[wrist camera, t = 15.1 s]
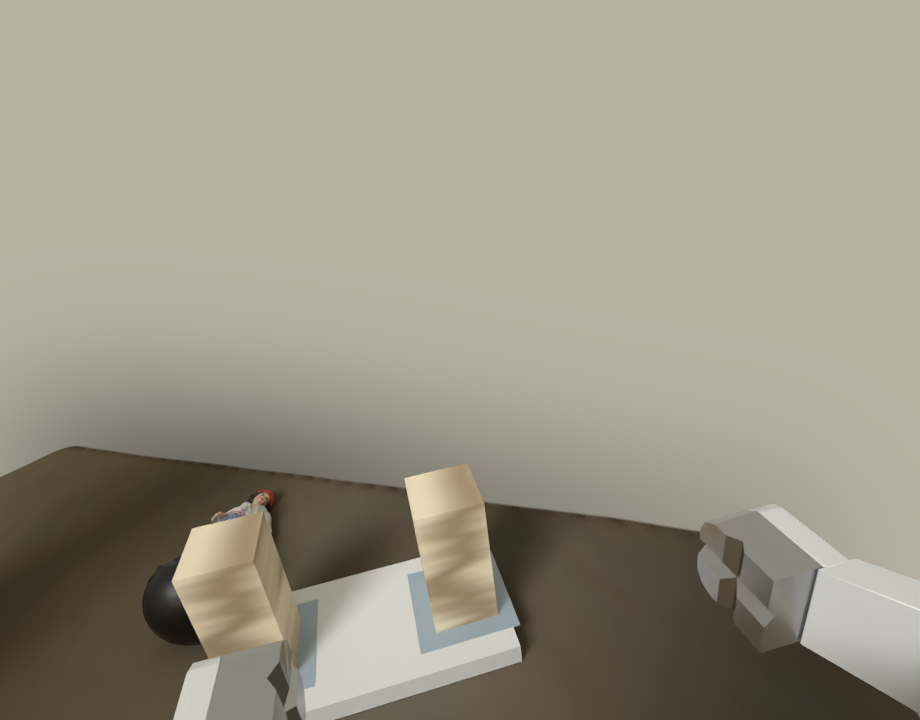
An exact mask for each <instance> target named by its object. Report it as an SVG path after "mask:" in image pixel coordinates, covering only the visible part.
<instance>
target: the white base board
mask: <svg viewBox="0 0 920 720" xmlns="http://www.w3.org/2000/svg"><path fill="white" fill-rule="evenodd" d="M490 554H491V562H492V570H493V578H494V586H495V594H496V601H497V609H498V615H497V616H493V617H490V618H486V619H483V620H480V621H476V622H473V623H470V624H466V625H463V626H459V627H456V628H453V629H449V630H446V631H442V632H439V633H436V630H435V625H434V620H433V615H432V611H431V606H430V601H429V597H428V592H427V587H426V583H425V578H424V573H423V568H422V563H421V558H416V559H412V560H408V561H405V562H401V563H397V564H393V565H390V566H386V567H382V568H378V569H375V570H371V571H367V572H363V573H360V574H356V575H352V576H348V577H345V578H341V579H337V580H333V581H330V582H326V583H322V584H318V585H315V586H311V587H307V588H303V589H300V590H296V591H292V594H293V597H294V600H295V603H296V605H297V608H298V611H299V614H300V617H301V618H300V632H299V645H298V658H297V669H298V670H299V672H300V675H301V678H302V682H303V687H304V692H305V706H306V720H335V719H339V718H342V717H345V716H348V715H351V714H355V713H358V712H361V711H364V710H368V709H371V708H374V707H377V706H380V705H384V704H387V703H390V702H393V701H396V700H400V699H403V698H406V697H409V696H412V695H416V694H419V693H422V692H425V691H429V690H432V689H435V688H438V687H441V686H445V685H448V684H451V683H454V682H457V681H461V680H464V679H467V678H470V677H474V676H477V675H480V674H483V673H486V672H490V671H493V670H496V669H499V668H502V667H506V666H509V665H512V664H515V663H518V662H522V654H521V646H520V643H519V641H518V638H517V635H516V633H515V630H514V627H517V626H520V623H519V620H518V618H517V615H516V613H515V610H514V607H513V605H512V602H511V600H510V597H509V595H508V592H507V590H506V587H505V585H504V582H503V580H502V577H501V574H500V572H499V569H498V567H497V564H496V562H495V559H494V557H493V554H492V552H490Z"/></svg>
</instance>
